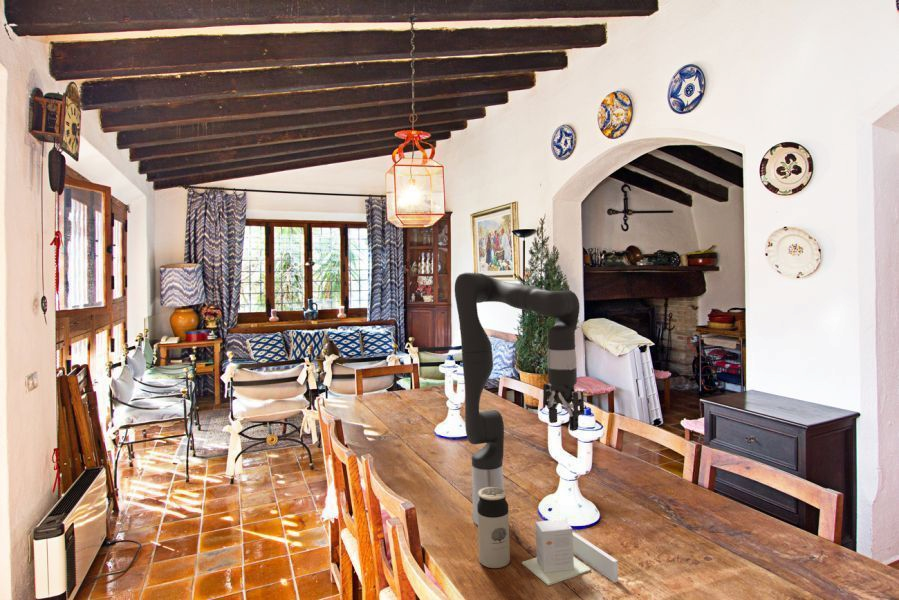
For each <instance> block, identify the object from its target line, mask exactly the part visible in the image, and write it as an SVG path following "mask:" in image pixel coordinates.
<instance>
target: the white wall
mask: <svg viewBox="0 0 899 600" xmlns="http://www.w3.org/2000/svg"><path fill="white" fill-rule="evenodd" d="M573 556H576V557H577V558H578V559H580V560H582V561H583V562H584V563H586V564H587V565H588V566H590V567H591V568H593V569H595V570H596V571H597V572H599V574H602V575H603V576H604V577H605V578H607V579H609V580H610V582H613V583H617V582H619V566H618V565H619V561H618V559H617V558H614V557H613V556H611V555H610V554H608V553H607V552H605V551H603V550H602V549H600V548H599V547H598V546H596V545H594V544H593V543H591V542H590V541H588V540H587V539H586V538H583V536H581V535H579V534H578V533H576V532H575V531H573Z"/></svg>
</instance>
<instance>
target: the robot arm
mask: <svg viewBox="0 0 899 600" xmlns="http://www.w3.org/2000/svg"><path fill="white" fill-rule="evenodd" d="M454 298H455V303H456V309H457V315H458V322H459V331H460V341H461V359H462V369H463V370H462V371H463V379H464V380H463V381H464V393H465V394H464V409H465V410H464V412H465V413H464V427H465V433H466V434H465V435H466V438H467V440H468V442H469V443H470V444H471V445H480V444H485V445H484V446H483V447H481V448H480V449H479V450H477V451H475V452H474V453H473V454H472V456H471V474H472V477H471V478H472V486H471V495H472V496H471V499H472V500H471V501H472V503H471V504H472V518H473V523H474V524H475V525H476V526H478V511H477V504H478V502H479V500H480V498H479V495H478V491H479V490H481V489H482V488H486V487H499V488H502V489H504V469H503V468H504V467H503V464H504V463H503V460H504V455H505V453H504V449H505V448H504V444H505V443H504V440H505V425H504V423H505V422H504V420H503V419H504V418H503V416H502V414H501V413H500V412H499V411H498V410H492V409H491V410H483V411H482V410H481V411H480V402H481V396H482V393H483V392H484V388H485V387H486V384H487V382H488V380H489V378H490V377H491V374H492V371H493V368H494V357H493V348H492V347H493V346H492V343H491V340H490V338H489V336H488V335H487V333H486V331H485V328H484V327H483V325H482V323H481V321H480V318H479V313H478V306H477V305H478V304H480V303H487V302H492V303H493V302H494V303H495V302H496V303H502V304H506V305H508V306H510V307H512V308H514V309H519V310H522V311H527V312H535V313H536V314H539V315H541V316H542V317H543V316H544V317H547V318H552V319H554V318H555V323H554V325H553V326H551V327H550V328H548V331H547V361H546V362H547V383H544V384H543V388H542V390H543V391H542V392H543V393H542V395H543V396H542V397H543V399H542V402H543V403H542V404H543V406H546V407H547V409H548V422H549V423H551V424H555V423H557V422H558V406H559V405H561V406H563V408H564V409H565V410H567V413H568V415H569V416H568V417H569V418H568V420H569V421H568V423H569V425H568V426H569V428H568V429H569V431H572V432H575V431H577V430H578V429H579V416H583V415H584V414H585V401H584V399H585V398H584V392H583V391H582V390H581V391H580V390H579V391H576V390H575V386H576V384H577V382H578V381H577V380H578V377H577V376H578V375H577V371H578V370H577V369H578V367H577V354H576V335H575V334H576V329H577V325H578V321H579V315H580V301H579V298H578V296H577V295H576V293H574V291H572V290H568V289H567V290H547V289H544V288H542V287H540V286H535V285H528V284H523V283H522V284H521V283H513V282H507V281H502V280H500V279H496V278H494V277H492V276H490V275H486V274H484V273H480V272H461V273H460V274H458V276H457V277H456V279H455V283H454Z"/></svg>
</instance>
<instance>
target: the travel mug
mask: <svg viewBox="0 0 899 600" xmlns="http://www.w3.org/2000/svg"><path fill="white" fill-rule="evenodd" d="M478 495H479V498H480V500H479V502H478V504H477V511H478V525H477V534H478V535H477V540H478V542H477V544H478V561H479V563H480V565H482V566H484V567H486V568H489V569H500V568H504V567H506V566H507V565H508V564H510V562H511V561H510V560H511V556H510V554H511V553H510V521H509V519H510V517H509V516H510V515H509V502H508V501H507V495H508V491H507V490H505V489H504V488H503V489H502V488H499V487H486V488H482V489H481V490H479V491H478Z"/></svg>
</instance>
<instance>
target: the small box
mask: <svg viewBox="0 0 899 600" xmlns="http://www.w3.org/2000/svg"><path fill="white" fill-rule="evenodd" d="M573 532H574V530H573V528H572V527H571V525H570V523H568V521H567V520H566V519H565V518H559V519H558V518H557V519H549V520H540V521H535V546H536V547H535V548H536V549H535V550H536V552H535V553H536V557H537V563H538V564H539V566H540V568H541V569H542V571H543V573H548V572H556V571H564V570H572V569H574V560H573V557H574V554H573Z"/></svg>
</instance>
